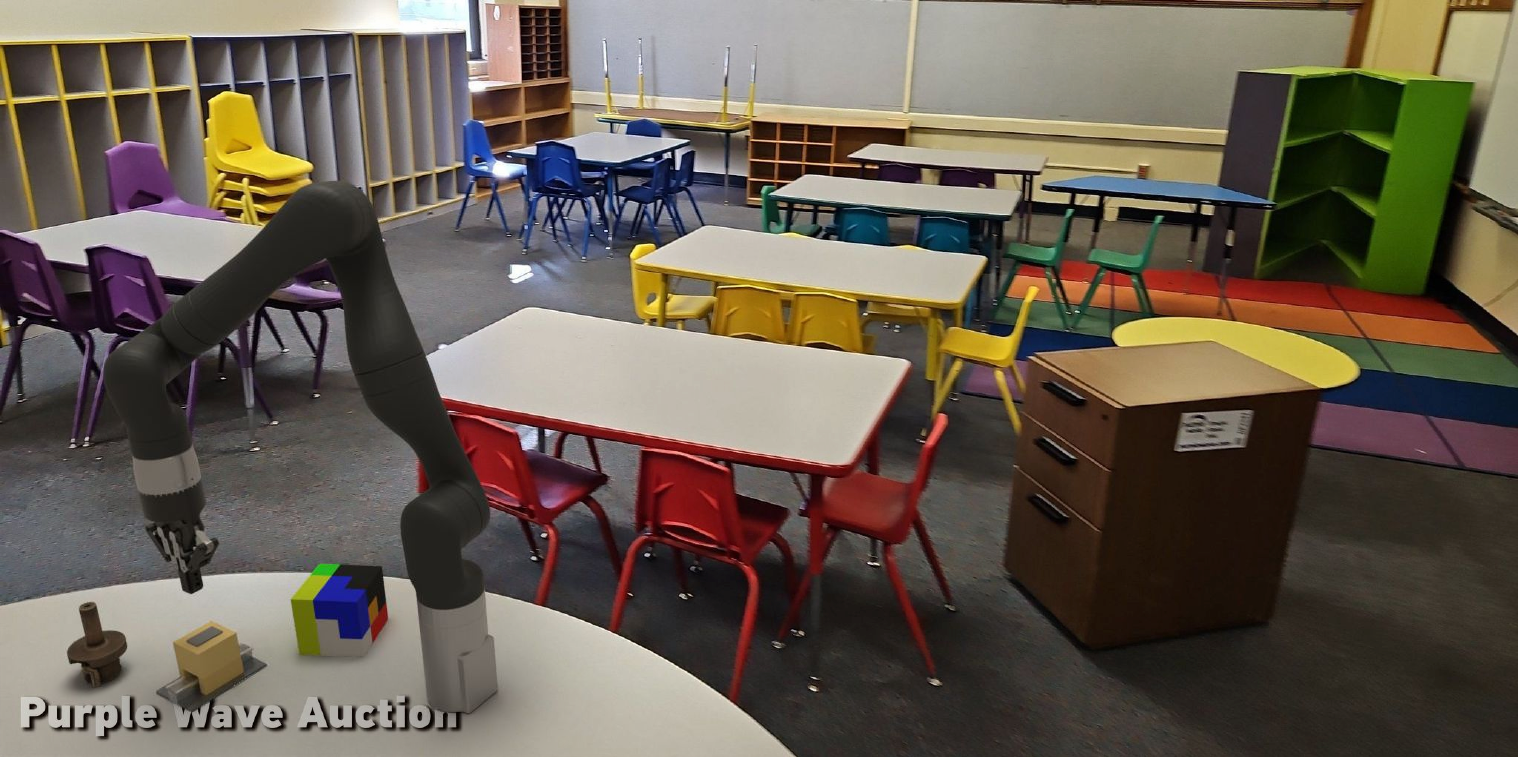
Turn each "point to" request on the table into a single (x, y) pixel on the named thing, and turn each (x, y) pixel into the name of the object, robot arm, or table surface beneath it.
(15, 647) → the table surface
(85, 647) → the industrial component
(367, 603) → the puzzle toy
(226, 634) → the block
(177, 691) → the rail
